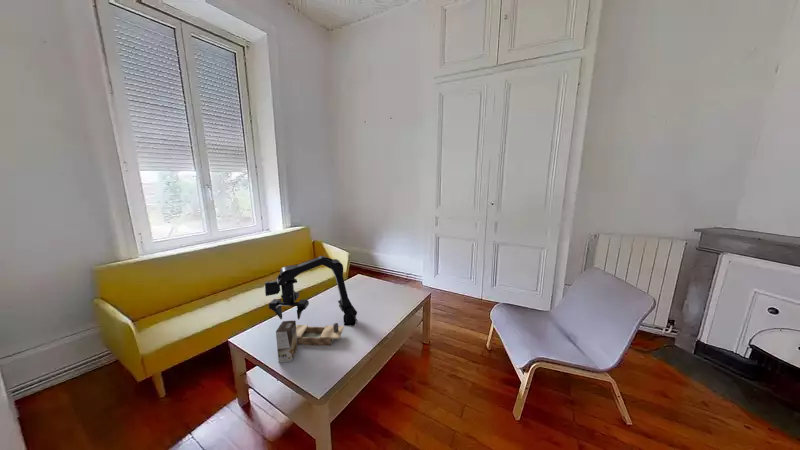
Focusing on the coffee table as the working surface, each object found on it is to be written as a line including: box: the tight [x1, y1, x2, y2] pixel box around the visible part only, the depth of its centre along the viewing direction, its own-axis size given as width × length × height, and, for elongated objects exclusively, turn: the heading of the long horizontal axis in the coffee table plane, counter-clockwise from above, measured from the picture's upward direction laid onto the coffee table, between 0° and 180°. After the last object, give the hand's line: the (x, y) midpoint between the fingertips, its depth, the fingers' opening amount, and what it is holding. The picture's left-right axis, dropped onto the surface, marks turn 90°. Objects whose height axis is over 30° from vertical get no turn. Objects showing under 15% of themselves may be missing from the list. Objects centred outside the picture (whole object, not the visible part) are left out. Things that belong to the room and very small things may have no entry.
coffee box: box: [275, 320, 299, 363], centre depth 126 cm, size 9×6×16 cm
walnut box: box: [297, 326, 334, 347], centre depth 140 cm, size 20×10×4 cm, turn 89°
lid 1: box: [296, 324, 309, 338], centre depth 139 cm, size 10×10×5 cm
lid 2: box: [320, 322, 345, 340], centre depth 139 cm, size 10×10×5 cm
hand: (290, 319), depth 138 cm, fingers open, 9 cm apart
